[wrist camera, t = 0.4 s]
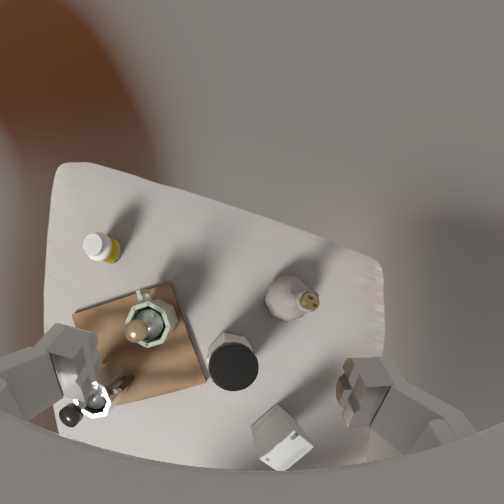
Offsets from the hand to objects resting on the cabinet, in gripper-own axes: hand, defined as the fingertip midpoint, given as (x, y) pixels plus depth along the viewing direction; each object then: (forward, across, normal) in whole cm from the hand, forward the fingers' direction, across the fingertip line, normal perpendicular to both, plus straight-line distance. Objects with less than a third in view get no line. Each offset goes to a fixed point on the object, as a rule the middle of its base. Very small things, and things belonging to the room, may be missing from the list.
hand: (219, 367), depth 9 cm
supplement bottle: (+49, -24, -15) cm, 56 cm away
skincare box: (+36, +13, -45) cm, 59 cm away
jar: (+42, +2, -31) cm, 52 cm away
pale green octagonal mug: (+43, -13, -24) cm, 51 cm away
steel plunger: (+27, -21, -33) cm, 47 cm away
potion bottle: (+47, +12, -20) cm, 53 cm away
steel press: (+37, -20, -37) cm, 56 cm away
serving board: (+41, -17, -32) cm, 54 cm away
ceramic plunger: (+35, -12, -22) cm, 43 cm away
